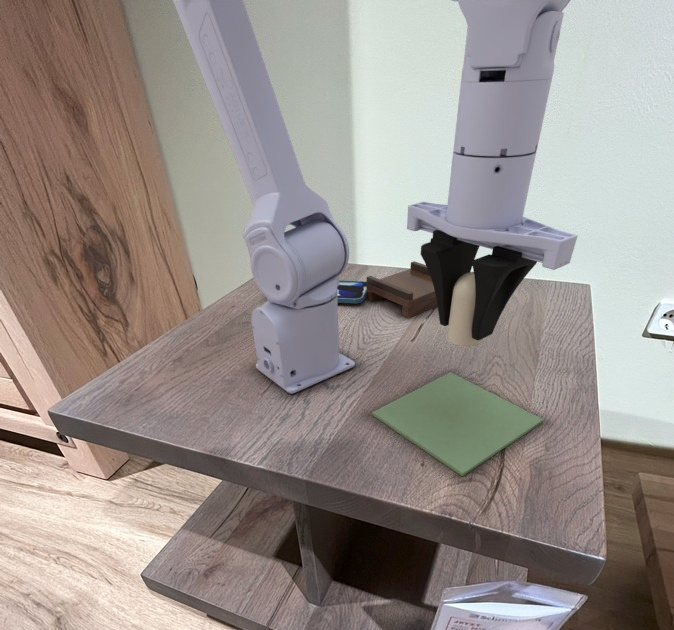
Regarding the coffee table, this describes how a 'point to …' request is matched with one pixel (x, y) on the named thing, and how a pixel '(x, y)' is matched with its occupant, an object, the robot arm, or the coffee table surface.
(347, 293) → the smartphone
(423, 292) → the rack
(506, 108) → the robot arm
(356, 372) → the coffee table surface
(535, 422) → the mat
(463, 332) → the beige rounded peg
